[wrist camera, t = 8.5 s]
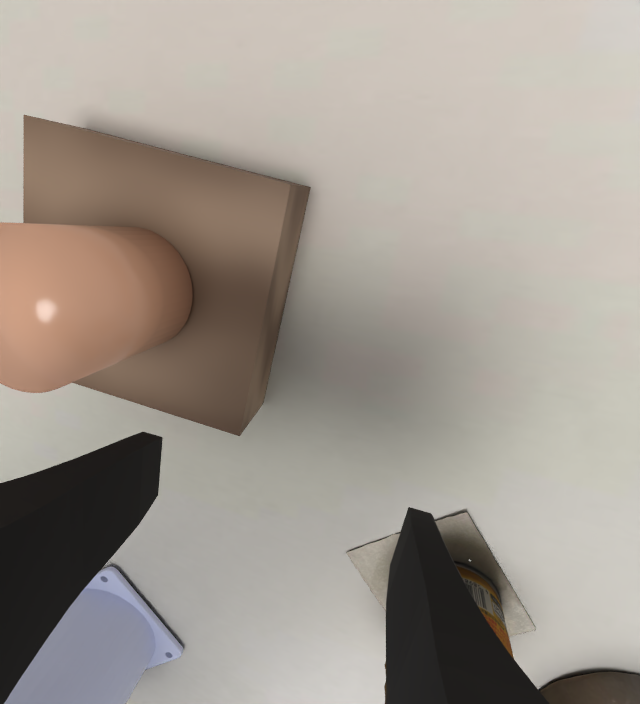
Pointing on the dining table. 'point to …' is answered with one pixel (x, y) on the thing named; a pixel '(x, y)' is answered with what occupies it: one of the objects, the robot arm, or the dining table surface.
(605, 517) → the dining table surface
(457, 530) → the condiment
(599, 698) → the pillar candle
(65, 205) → the walnut block
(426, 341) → the dining table surface
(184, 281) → the terracotta cylinder
